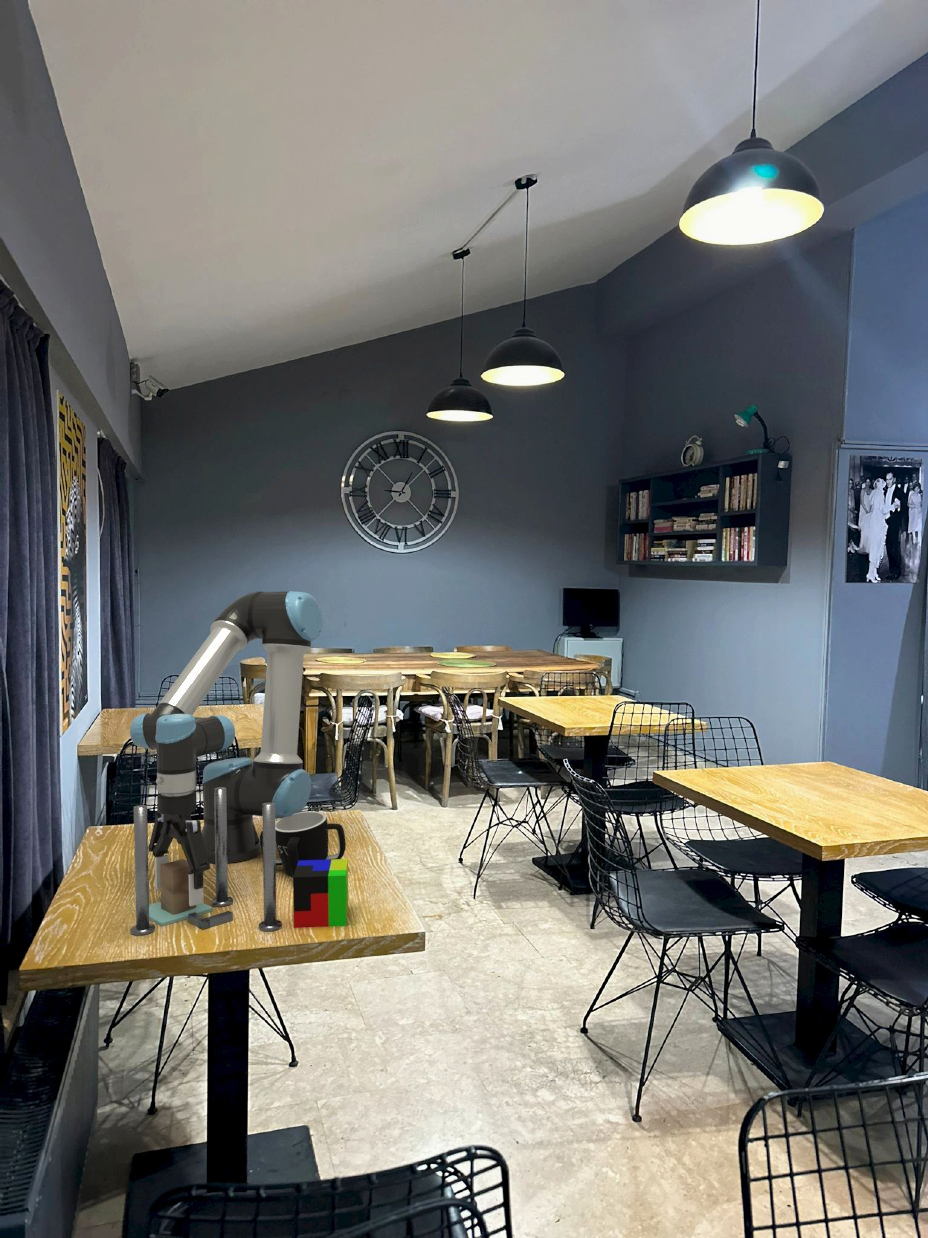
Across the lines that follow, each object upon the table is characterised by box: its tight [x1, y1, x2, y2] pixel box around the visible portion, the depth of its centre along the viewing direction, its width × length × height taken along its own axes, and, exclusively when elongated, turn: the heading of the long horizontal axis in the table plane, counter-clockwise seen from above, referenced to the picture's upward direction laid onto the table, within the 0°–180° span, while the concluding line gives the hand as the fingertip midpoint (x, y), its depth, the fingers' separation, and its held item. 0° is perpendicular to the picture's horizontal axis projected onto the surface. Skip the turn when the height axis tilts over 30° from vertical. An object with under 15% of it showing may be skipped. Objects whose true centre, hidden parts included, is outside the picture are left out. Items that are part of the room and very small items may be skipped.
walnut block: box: [160, 858, 196, 915], centre depth 175 cm, size 5×5×9 cm
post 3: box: [258, 803, 283, 933], centre depth 167 cm, size 4×4×24 cm
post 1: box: [130, 804, 156, 937], centre depth 165 cm, size 4×4×24 cm
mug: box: [259, 810, 347, 877], centre depth 199 cm, size 16×16×12 cm
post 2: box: [210, 787, 234, 908], centre depth 180 cm, size 4×4×24 cm
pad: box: [149, 901, 214, 927], centre depth 176 cm, size 11×11×1 cm
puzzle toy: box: [292, 858, 350, 929], centre depth 172 cm, size 10×10×10 cm
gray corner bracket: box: [187, 910, 234, 930], centre depth 171 cm, size 6×6×2 cm
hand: (178, 895), depth 176 cm, fingers open, 13 cm apart
